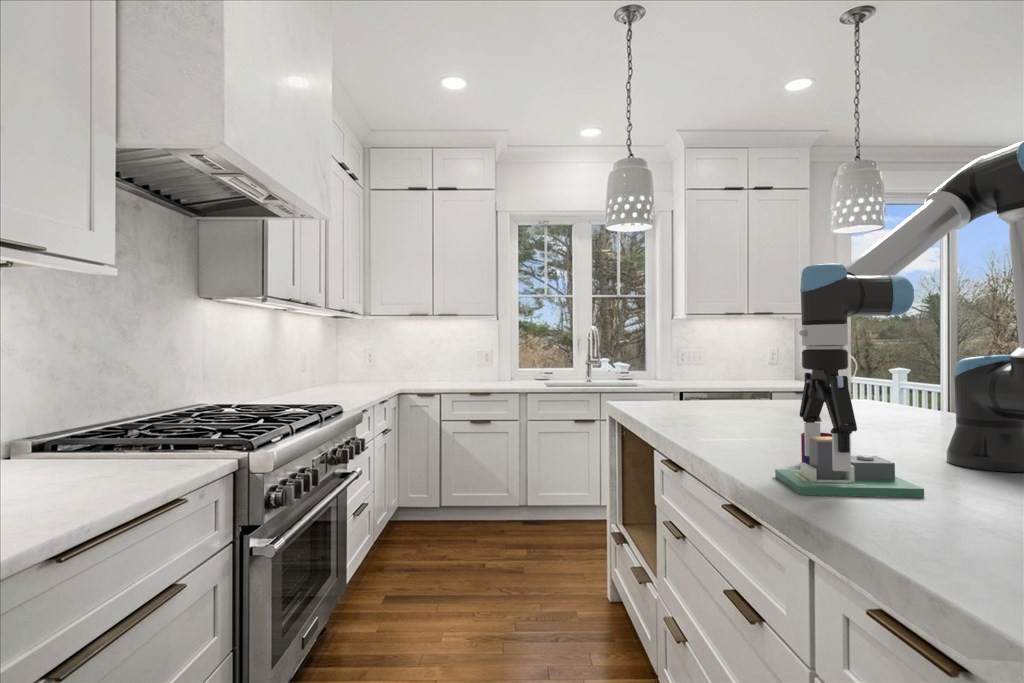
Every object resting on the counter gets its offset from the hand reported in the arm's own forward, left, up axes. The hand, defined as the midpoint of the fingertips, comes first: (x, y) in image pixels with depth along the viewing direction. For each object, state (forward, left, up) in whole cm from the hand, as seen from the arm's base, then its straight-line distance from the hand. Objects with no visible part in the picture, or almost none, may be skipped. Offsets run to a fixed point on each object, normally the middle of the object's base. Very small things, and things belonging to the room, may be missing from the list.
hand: (826, 463), depth 108 cm
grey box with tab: (-8, -3, -3) cm, 9 cm away
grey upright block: (0, 0, -3) cm, 3 cm away
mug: (-5, -17, -5) cm, 18 cm away
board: (-3, 0, -4) cm, 5 cm away
